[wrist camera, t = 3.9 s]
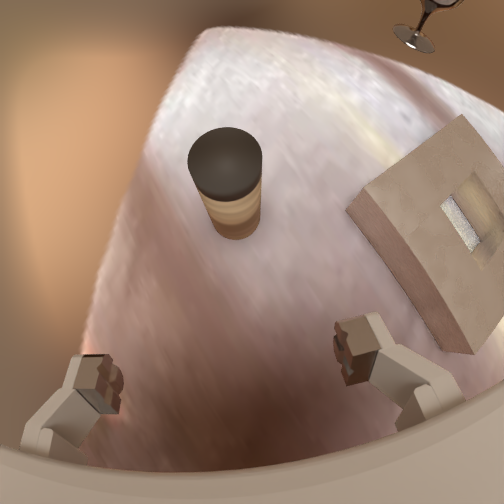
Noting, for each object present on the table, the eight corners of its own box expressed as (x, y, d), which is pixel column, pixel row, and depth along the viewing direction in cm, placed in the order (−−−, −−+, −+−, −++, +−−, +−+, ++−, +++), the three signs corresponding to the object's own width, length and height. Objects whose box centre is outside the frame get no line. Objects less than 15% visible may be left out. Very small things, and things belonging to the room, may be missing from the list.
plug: (263, 236, 25) (267, 185, 15) (214, 242, 25) (189, 196, 15) (256, 191, 26) (256, 123, 16) (210, 198, 26) (186, 133, 16)
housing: (442, 350, 23) (474, 354, 18) (345, 210, 25) (363, 187, 20) (516, 250, 24) (545, 240, 19) (440, 137, 27) (461, 113, 22)
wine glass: (440, 43, 31) (475, -21, 17) (432, 62, 30) (474, -11, 15) (397, 17, 32) (423, -50, 18) (384, 33, 31) (413, -45, 16)
